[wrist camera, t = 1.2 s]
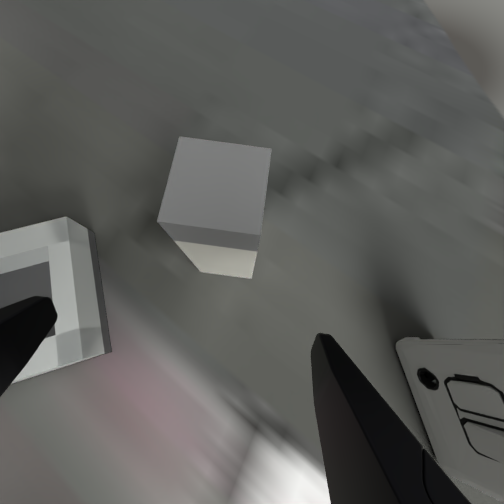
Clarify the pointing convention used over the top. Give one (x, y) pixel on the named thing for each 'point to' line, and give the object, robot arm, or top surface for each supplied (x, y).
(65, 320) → the white rectangular frame
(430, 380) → the electrical switch
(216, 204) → the grey tall block
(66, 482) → the top surface
